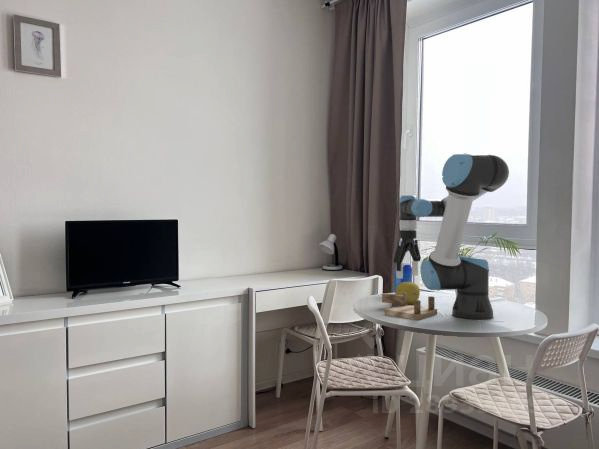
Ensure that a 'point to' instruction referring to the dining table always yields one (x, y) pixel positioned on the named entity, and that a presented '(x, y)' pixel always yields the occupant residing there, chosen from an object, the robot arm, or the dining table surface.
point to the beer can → (406, 275)
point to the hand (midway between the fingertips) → (407, 276)
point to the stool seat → (413, 310)
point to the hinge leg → (394, 298)
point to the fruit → (408, 291)
